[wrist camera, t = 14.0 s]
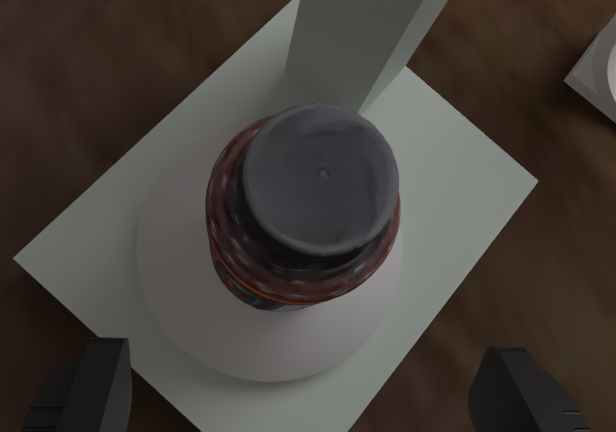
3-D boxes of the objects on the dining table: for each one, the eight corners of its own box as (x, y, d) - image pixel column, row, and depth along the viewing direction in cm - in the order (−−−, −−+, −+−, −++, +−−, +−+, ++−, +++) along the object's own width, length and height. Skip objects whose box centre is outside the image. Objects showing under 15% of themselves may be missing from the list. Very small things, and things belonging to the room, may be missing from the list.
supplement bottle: (187, 217, 24) (155, 113, 13) (304, 163, 25) (367, 28, 14) (247, 339, 23) (270, 340, 12) (365, 276, 24) (481, 226, 13)
